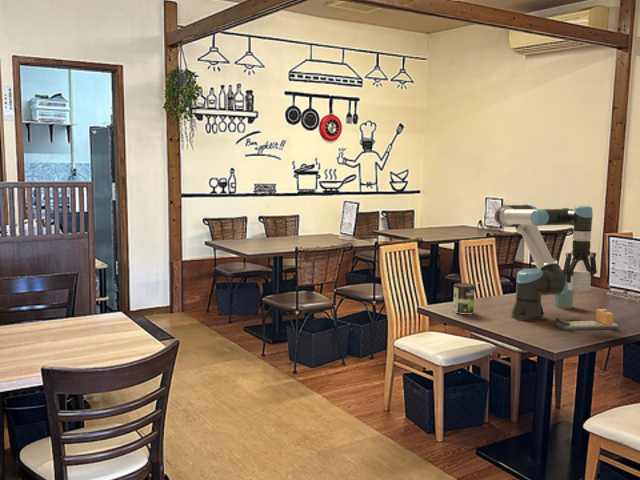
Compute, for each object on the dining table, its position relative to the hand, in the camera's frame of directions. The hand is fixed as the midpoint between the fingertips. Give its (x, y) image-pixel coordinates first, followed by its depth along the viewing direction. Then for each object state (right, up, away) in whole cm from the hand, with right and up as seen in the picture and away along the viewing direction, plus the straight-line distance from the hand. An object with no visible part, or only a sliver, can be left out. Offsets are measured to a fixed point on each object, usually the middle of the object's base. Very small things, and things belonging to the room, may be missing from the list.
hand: (578, 289), depth 282 cm
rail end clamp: (+12, -15, +1) cm, 19 cm away
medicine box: (0, 0, 0) cm, 1 cm away
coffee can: (-47, -14, +26) cm, 55 cm away
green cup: (+8, -12, +39) cm, 42 cm away
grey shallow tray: (+4, -17, 0) cm, 18 cm away
